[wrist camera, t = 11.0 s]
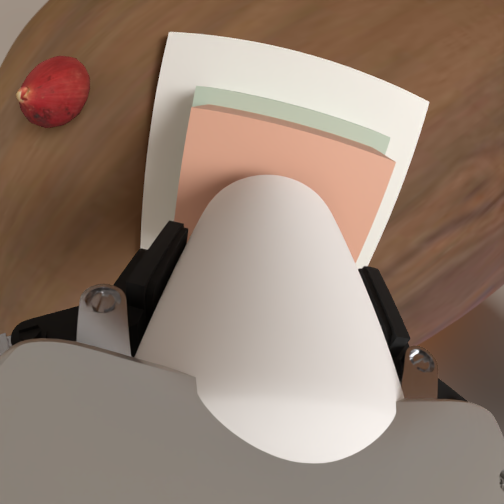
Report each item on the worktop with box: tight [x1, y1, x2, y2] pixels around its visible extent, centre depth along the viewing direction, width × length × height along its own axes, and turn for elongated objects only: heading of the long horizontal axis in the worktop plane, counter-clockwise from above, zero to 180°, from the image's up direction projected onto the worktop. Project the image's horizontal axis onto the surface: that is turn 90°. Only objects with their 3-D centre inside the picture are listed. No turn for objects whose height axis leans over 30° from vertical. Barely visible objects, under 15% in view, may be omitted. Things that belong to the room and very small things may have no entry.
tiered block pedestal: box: [140, 32, 429, 269], centre depth 19 cm, size 20×20×9 cm
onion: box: [16, 56, 90, 128], centre depth 16 cm, size 6×6×8 cm
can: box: [134, 175, 404, 463], centre depth 9 cm, size 6×6×12 cm
